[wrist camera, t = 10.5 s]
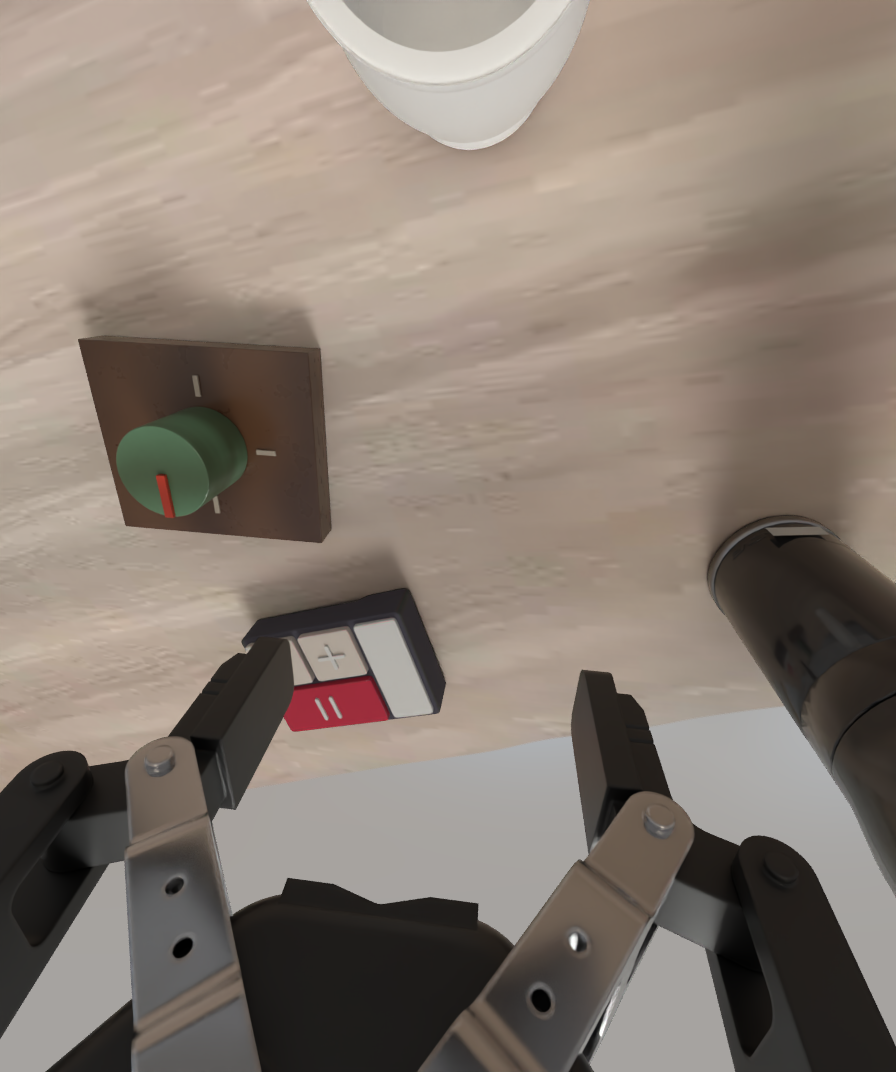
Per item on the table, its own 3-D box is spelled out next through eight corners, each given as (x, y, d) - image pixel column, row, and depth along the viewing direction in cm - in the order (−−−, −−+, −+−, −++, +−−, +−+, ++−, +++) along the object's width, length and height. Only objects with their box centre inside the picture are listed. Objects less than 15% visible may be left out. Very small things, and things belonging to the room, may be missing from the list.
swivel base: (320, 348, 36) (307, 353, 34) (331, 529, 42) (321, 544, 40) (102, 335, 37) (75, 339, 35) (144, 513, 43) (124, 527, 41)
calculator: (234, 645, 44) (396, 616, 40) (258, 616, 48) (408, 586, 44) (288, 738, 48) (439, 720, 44) (306, 704, 52) (447, 685, 48)
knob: (159, 404, 36) (101, 424, 31) (241, 408, 36) (196, 429, 31) (176, 484, 39) (125, 515, 34) (253, 489, 39) (213, 522, 33)
